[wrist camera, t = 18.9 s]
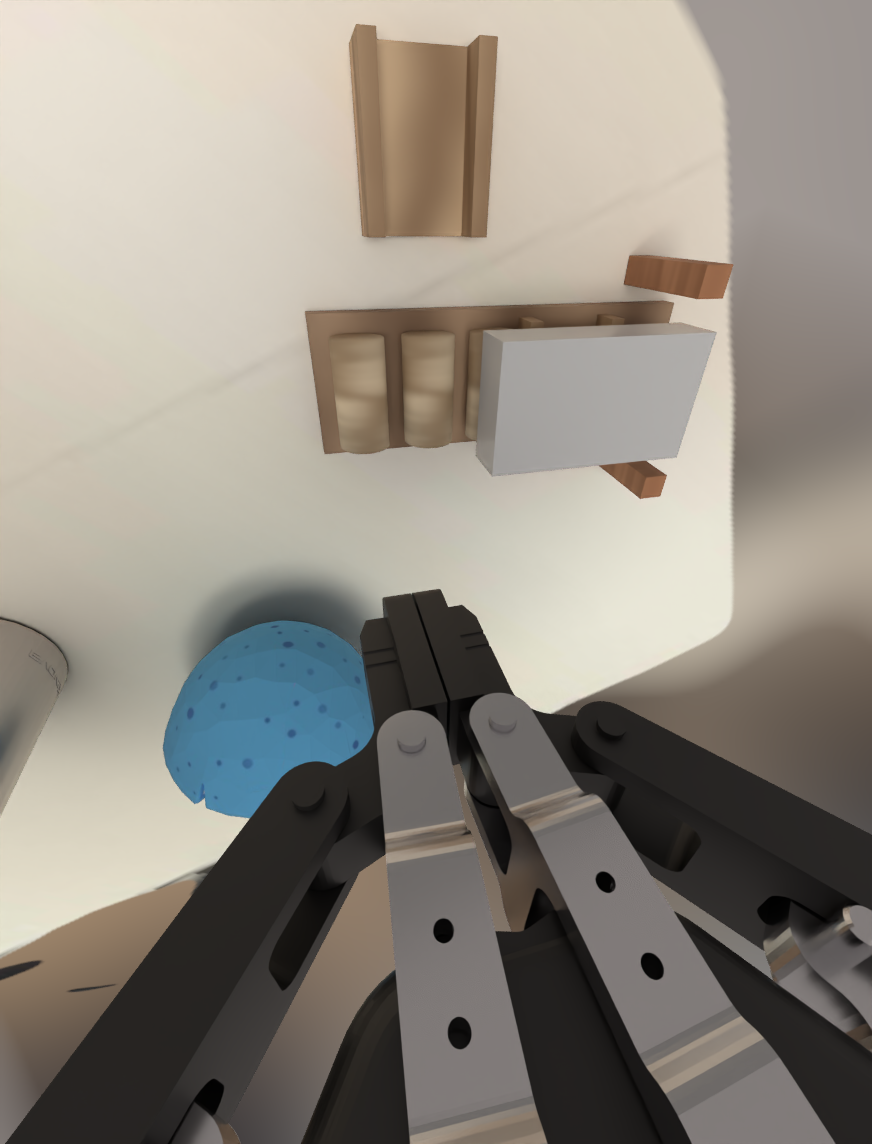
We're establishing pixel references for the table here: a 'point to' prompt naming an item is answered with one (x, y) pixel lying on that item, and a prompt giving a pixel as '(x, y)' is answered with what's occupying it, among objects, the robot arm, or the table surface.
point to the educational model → (265, 713)
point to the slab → (587, 394)
